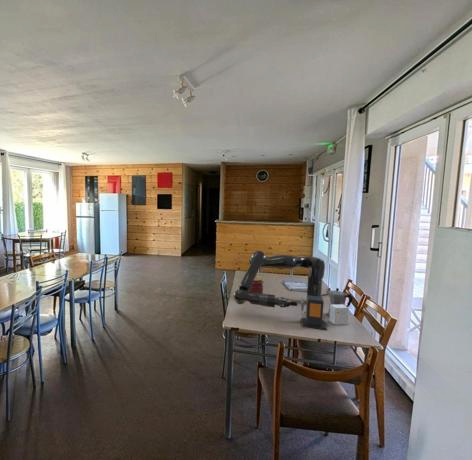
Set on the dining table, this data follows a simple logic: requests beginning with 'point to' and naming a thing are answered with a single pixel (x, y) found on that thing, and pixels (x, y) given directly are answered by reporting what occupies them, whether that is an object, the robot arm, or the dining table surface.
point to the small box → (339, 314)
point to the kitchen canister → (257, 285)
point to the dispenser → (314, 313)
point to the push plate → (302, 304)
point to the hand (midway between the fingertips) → (297, 304)
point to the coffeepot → (338, 298)
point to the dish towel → (295, 285)
